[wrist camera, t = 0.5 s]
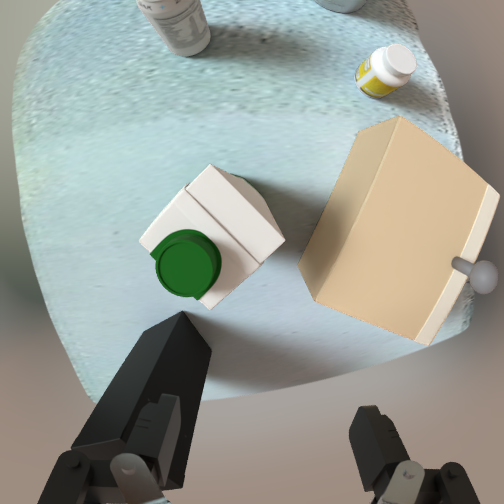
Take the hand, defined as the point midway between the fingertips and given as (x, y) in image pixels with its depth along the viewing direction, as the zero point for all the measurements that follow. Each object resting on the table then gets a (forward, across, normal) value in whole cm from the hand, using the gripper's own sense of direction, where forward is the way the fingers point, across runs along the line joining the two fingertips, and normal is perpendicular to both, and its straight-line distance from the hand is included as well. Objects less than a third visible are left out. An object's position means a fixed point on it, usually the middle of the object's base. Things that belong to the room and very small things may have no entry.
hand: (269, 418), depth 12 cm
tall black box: (+29, +11, +15) cm, 35 cm away
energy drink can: (+30, +12, -28) cm, 43 cm away
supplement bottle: (+30, -13, -25) cm, 41 cm away
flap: (+17, -16, -6) cm, 24 cm away
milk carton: (+29, +4, -5) cm, 30 cm away
